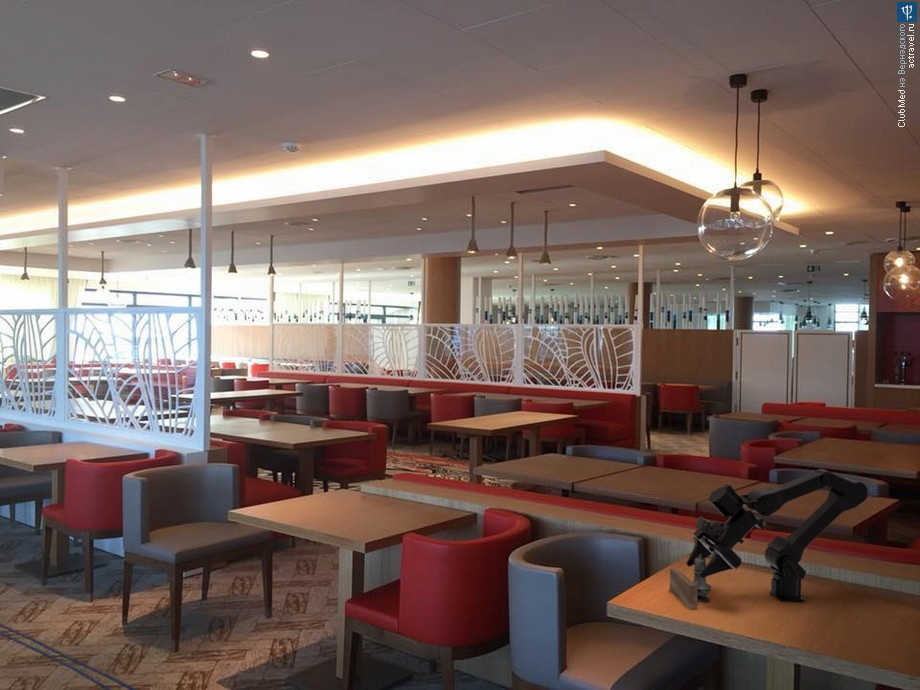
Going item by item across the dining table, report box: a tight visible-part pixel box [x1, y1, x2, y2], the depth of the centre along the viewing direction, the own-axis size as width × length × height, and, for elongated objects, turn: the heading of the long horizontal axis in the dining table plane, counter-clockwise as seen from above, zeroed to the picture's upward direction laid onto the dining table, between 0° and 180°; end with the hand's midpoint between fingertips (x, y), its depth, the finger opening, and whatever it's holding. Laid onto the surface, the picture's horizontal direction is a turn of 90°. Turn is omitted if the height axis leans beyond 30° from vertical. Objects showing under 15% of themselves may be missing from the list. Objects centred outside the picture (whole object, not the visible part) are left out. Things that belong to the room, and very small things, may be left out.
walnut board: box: [669, 568, 698, 610], centre depth 205 cm, size 2×14×6 cm, turn 5°
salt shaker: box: [692, 554, 712, 604], centre depth 205 cm, size 6×6×12 cm
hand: (694, 570), depth 205 cm, fingers open, 9 cm apart
